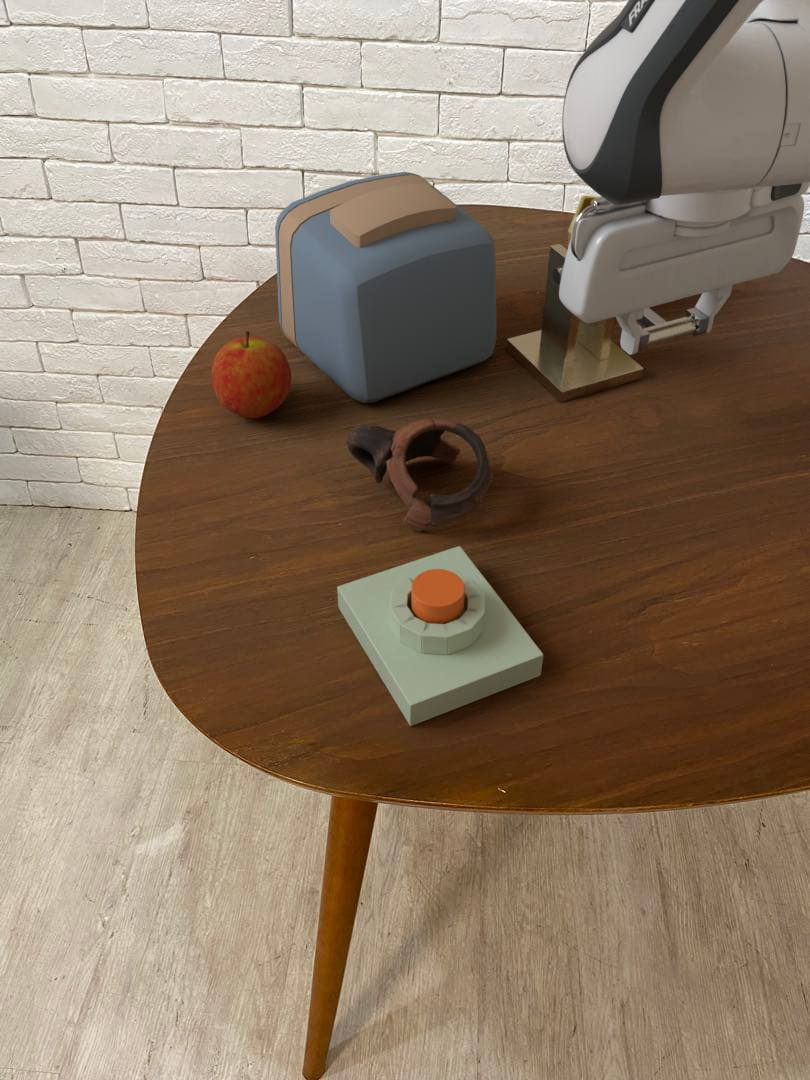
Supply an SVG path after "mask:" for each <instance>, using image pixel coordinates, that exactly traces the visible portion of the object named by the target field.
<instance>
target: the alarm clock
mask: <svg viewBox="0 0 810 1080" xmlns="http://www.w3.org/2000/svg"><path fill="white" fill-rule="evenodd" d="M274 226H275V227H274V232H275V256H276V257H275V258H276V259H275V260H276V280H277V283H276V284H277V303H278V305H277V307H278V323H279V326H280V329H281V332H282V333H283V335H284V337H286V338H287V339H288V340H289V341H290V342H291V343H292V344H293V345H294V346H295V347H296V348H298V349H299V350H300V351H301V352H302V354H304V355H305V356H306V357H307V358H308V359H309V360H310V361H311V362H312V363H314V365H316V366H317V367H318V368H319V369H320V370H321V371H322V372H323V373H324V374H326V376H327V377H328V378H330V380H332V381H333V382H334V383H335V384H336V385H337V386H338V387H339V388H340V389H341V390H342V391H344V393H345V394H346V395H348V396H349V397H350V398H352V399H354V400H355V401H357V402H360V403H362V404H371V403H376V402H379V401H381V400H384V399H387V398H389V397H392V396H396V395H398V394H401V393H403V392H407V391H409V390H411V389H414V388H417V387H420V386H423V385H425V384H428V383H430V382H433V381H436V380H438V379H442V378H444V377H447V376H450V375H452V374H454V373H458V372H460V371H463V370H466V369H468V368H471V367H474V366H477V365H479V364H481V363H483V362H484V361H486V360H487V359H489V358H490V357H491V356H492V355H493V354H494V351H495V346H496V343H497V279H496V278H497V277H496V276H497V273H496V270H497V269H496V247H495V246H496V245H495V241H494V237H493V236H492V235H491V233H490V232H489V231H488V230H487V229H486V228H485V227H484V226H483V225H482V224H480V223H479V222H478V221H477V220H476V219H474V218H473V217H472V216H470V215H469V214H468V213H467V212H466V211H465V210H464V209H462V208H461V207H460V206H458V205H457V203H454V201H452V200H451V199H450V198H449V197H448V196H446V195H445V194H444V193H442V192H441V191H440V190H439V189H438V188H436V187H435V186H434V185H433V184H431V183H430V182H429V181H427V180H426V179H425V177H423V176H422V175H419V174H417V173H413V172H408V171H400V172H393V173H387V174H379V175H374V176H369V177H363V178H358V179H354V180H349V181H346V182H344V183H341V184H337V185H335V186H332V187H329V188H328V187H327V188H325V189H322V190H319V191H317V192H315V193H312V194H310V195H307V196H305V197H302V198H299V199H297V200H295V201H292V202H291V203H290V204H289V205H287V206H286V207H285V208H283V209H282V210H281V211H280V213H279V215H278V216H277V218H276V222H275V225H274Z"/></svg>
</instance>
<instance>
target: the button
mask: <svg viewBox="0 0 810 1080" xmlns="http://www.w3.org/2000/svg"><path fill="white" fill-rule="evenodd" d="M464 595H465V586H464V583H463V581H462V579H461V578H460V577H459V576H458V575H456V574H455V573H453V572H451V571H448V570H443V569H432V570H427V571H425V572H422V573H421V574H419V575H418V576H417V577H416V578H415V579H414V581H413V583H412V590H411V606H412V610H413V612H414V614H415V615H416V616H417V617H418V618H420V619H421V620H423V621H425V622H428V623H432V624H445V623H449V622H451V621H453V620H455V619H457V618H458V617H459V616H460V615H461V613H462V611H463V609H464Z"/></svg>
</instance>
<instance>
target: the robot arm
mask: <svg viewBox="0 0 810 1080" xmlns="http://www.w3.org/2000/svg"><path fill="white" fill-rule="evenodd" d="M561 120H562V121H561V122H562V123H561V124H562V125H561V127H562V128H561V129H562V130H561V131H562V141H563V148H564V152H565V156H566V160H567V162H568V164H569V166H570V167H571V169H572V170H573V171H574V173H575V174H576V175H577V176H578V178H580V179H581V180H582V182H584V183H585V184H586V185H587V186H588V188H591V190H593V191H594V192H595V193H596V194H598V195H599V196H597V197H598V198H596V199H594V200H592V201H591V203H590V206H588V207H586V208H585V209H584V210H583V211H582V212H581V213H580V214H579V215H578V216H576V218H575V219H574V221H573V225H572V232H571V240H570V243H569V247H568V246H567V254H566V258H565V262H564V267H563V271H562V277H561V282H560V288H559V298H560V300H561V302H562V303H563V305H564V306H565V307H566V308H567V309H568V310H569V311H570V312H571V313H572V314H574V315H575V316H576V317H577V318H579V319H580V320H581V321H583V322H585V323H594V322H597V321H601V320H605V319H609V318H612V317H615V319H616V321H617V323H618V325H619V327H620V328H621V335H620V342H619V343H620V348H621V350H623V351H624V352H625V353H626V354H627V355H628V356H632V355H635V354H640V353H642V352H646V351H647V350H648V348H649V347H648V345H647V343H648V341H649V337H650V333H649V332H647V331H646V330H644V329H643V326H642V325H641V324H639V323H638V321H636V319H637V320H639V319H642V317H643V312H644V309H646V308H652V307H653V308H654V307H657V306H661V305H664V304H667V303H672V302H675V301H679V300H683V299H687V298H691V297H694V296H697V295H700V297H699V298H698V300H697V302H696V304H695V305H694V307H692V308H688V309H686V311H685V312H686V313H685V317H687V316H690V317H692V318H693V319H694V321H695V323H696V331H695V333H694V334H693V335H692V336H693V337H698V336H701V335H705V334H710V333H711V332H712V329H713V324H714V320H715V316H716V315H718V313H719V312H720V310H721V309H722V308H723V306H724V305H725V303H726V302H727V301H728V299H729V298H730V297H731V295H732V290H733V286H735V285H738V284H741V283H742V284H743V283H746V282H749V281H752V280H756V279H760V278H764V277H768V276H771V275H775V274H779V273H780V272H782V271H783V270H784V269H785V268H786V266H787V265H788V264H789V263H790V261H791V260H792V258H793V256H794V254H795V250H796V248H797V244H798V239H799V236H800V232H801V229H802V222H803V218H804V213H805V200H804V197H803V195H804V194H805V193H806V192H807V191H808V189H810V0H627V2H626V4H625V5H624V7H623V8H622V10H621V11H620V12H619V13H618V15H617V16H615V18H614V19H613V20H612V21H611V22H610V23H609V24H608V25H607V26H606V27H605V28H604V29H603V30H601V32H600V33H599V34H598V35H597V36H596V37H595V38H594V40H593V41H592V42H591V43H590V44H589V45H588V46H587V48H586V49H585V51H583V53H582V55H581V56H580V57H579V59H578V60H577V62H576V64H575V65H574V67H573V69H572V71H571V73H570V76H569V79H568V82H567V85H566V89H565V94H564V99H563V107H562V119H561ZM591 211H592V212H591ZM589 212H591V213H589Z"/></svg>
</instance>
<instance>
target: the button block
mask: <svg viewBox="0 0 810 1080" xmlns="http://www.w3.org/2000/svg"><path fill="white" fill-rule="evenodd" d="M432 569H443V570H448V571H451V572H453V573H455V574H456V575H458V576H459V577H460V578H461V579H462V581H463V583H464V586H465V595H464V609H463V611H462V613H461V615H460V616H459V617H458V618H457V619H455V620H453V621H451V622H449V623H445V624H432V623H428V622H425V621H423V620H421V619H420V618H418V617H417V616H416V615H415V614H414V612H413V610H412V606H411V590H412V583H413V581H414V579H415V578H416V577H417V576H418V575H419V574H421V573H422V572H425V571H427V570H432ZM336 590H337V607H338V609H339V611H340V612H341V614H342V616H343V618H344V620H345V621H346V623H347V624H348V626H349V627H350V629H351V631H352V633H353V634H354V636H355V638H356V639H357V641H358V642H359V644H360V646H361V647H362V649H363V651H364V653H365V654H366V656H367V658H368V659H369V661H370V663H371V664H372V665H373V668H374V669H375V670H376V672H377V674H378V676H379V677H380V679H381V680H382V682H383V684H384V685H385V687H386V688H387V690H388V692H389V694H390V695H391V698H392V699H393V700H394V702H395V704H396V706H397V707H398V708H399V710H400V712H401V714H402V716H403V717H404V718H405V720H406V722H407V724H408V726H410V727H413V726H415V725H418V724H420V723H422V722H425V721H427V720H430V719H433V718H435V717H438V716H441V715H443V714H445V713H448V712H451V711H453V710H456V709H458V708H461V707H464V706H466V705H469V704H471V703H473V702H476V701H478V700H479V701H480V700H481V699H484V698H487V697H489V696H492V695H494V694H497V693H500V692H503V691H504V690H507V689H510V688H512V687H514V686H517V685H520V684H523V683H525V682H528V681H531V680H533V679H535V678H539V677H541V675H542V670H543V669H542V668H543V661H544V653H543V652H542V650H541V649H540V648H539V647H538V645H537V644H536V643H535V642H534V641H533V639H532V638H531V637H530V635H529V633H528V632H527V631H526V629H524V627H523V626H522V624H521V623H520V622H519V621H518V620H517V618H516V617H515V616H514V614H513V613H512V612H511V610H510V608H508V606H507V605H506V604H505V603H504V602H503V600H502V599H501V597H500V596H499V595H498V593H497V592H496V591H495V589H493V587H492V585H491V584H490V583H489V582H488V581H487V579H486V578H485V577H484V575H483V574H482V572H481V571H480V570H479V568H478V567H477V566H476V564H474V562H473V561H472V560H471V558H470V557H469V556H468V554H467V553H466V552H465V550H464V549H463V548H462V547H461V546H460V545H458V546H455V547H451V548H449V549H446V550H443V551H439V552H437V553H434V554H431V555H428V556H424V557H422V558H419V559H416V560H413V561H410V562H407V563H404V564H400V565H398V566H395V567H392V568H389V569H385V570H383V571H380V572H377V573H374V574H371V575H368V576H365V577H361V578H358V579H356V580H353V581H350V582H347V583H344V584H341V585H338V586H336Z"/></svg>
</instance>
